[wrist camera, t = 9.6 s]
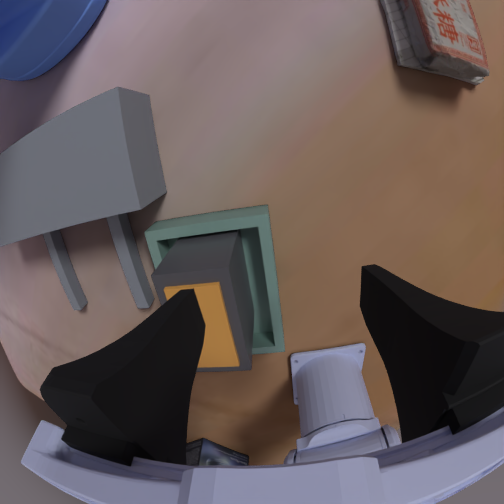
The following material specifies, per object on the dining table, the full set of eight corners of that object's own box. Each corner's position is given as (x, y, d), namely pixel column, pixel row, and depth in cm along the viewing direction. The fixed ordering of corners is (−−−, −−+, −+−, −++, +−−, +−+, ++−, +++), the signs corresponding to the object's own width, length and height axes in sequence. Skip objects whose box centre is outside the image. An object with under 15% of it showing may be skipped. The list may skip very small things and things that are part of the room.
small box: (251, 455, 39) (249, 503, 29) (228, 462, 41) (224, 506, 31) (204, 436, 36) (195, 490, 26) (183, 444, 38) (173, 492, 28)
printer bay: (193, 295, 24) (180, 331, 19) (58, 303, 26) (35, 327, 21) (149, 95, 17) (117, 86, 12) (12, 160, 19) (-21, 170, 14)
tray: (283, 333, 25) (284, 351, 23) (193, 339, 26) (187, 357, 24) (267, 204, 20) (268, 213, 18) (156, 221, 21) (144, 232, 19)
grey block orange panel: (255, 315, 24) (252, 377, 17) (206, 318, 24) (190, 379, 18) (239, 224, 20) (227, 270, 14) (183, 232, 21) (149, 278, 14)
